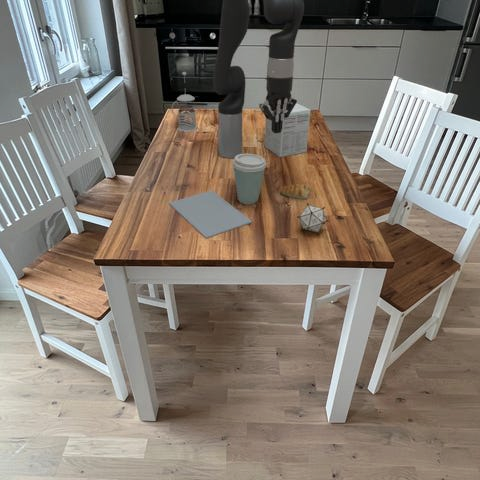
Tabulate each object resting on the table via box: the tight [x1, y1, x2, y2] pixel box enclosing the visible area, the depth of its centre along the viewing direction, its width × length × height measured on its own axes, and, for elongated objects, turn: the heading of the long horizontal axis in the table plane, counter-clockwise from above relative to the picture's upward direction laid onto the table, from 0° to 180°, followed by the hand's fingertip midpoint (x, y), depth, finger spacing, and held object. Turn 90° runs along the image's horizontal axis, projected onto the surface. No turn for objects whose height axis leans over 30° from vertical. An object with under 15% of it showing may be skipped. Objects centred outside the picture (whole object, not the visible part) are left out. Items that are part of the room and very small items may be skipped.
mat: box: [168, 190, 253, 239], centre depth 129 cm, size 24×16×1 cm, turn 34°
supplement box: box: [264, 102, 312, 158], centre depth 168 cm, size 13×13×18 cm
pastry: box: [280, 183, 310, 200], centre depth 139 cm, size 9×7×4 cm
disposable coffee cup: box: [232, 153, 267, 205], centre depth 132 cm, size 11×11×15 cm
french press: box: [171, 71, 199, 133], centre depth 186 cm, size 10×12×25 cm
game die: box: [296, 202, 330, 236], centre depth 119 cm, size 9×8×10 cm
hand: (276, 132), depth 129 cm, fingers closed
